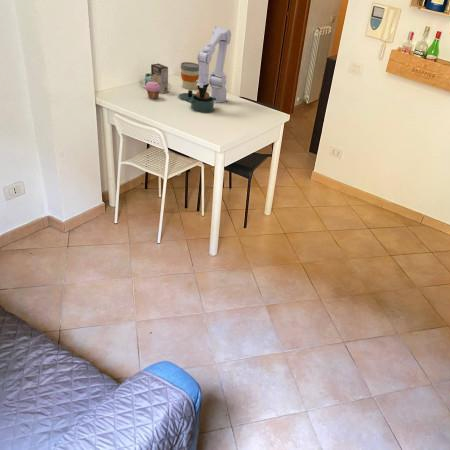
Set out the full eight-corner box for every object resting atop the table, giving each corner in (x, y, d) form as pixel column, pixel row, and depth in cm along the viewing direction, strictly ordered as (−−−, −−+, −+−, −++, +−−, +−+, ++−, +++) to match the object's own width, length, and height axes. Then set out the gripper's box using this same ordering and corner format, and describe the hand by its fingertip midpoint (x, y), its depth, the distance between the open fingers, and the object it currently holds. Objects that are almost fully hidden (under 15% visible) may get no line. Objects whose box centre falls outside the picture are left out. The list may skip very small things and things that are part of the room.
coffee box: (150, 89, 279) (150, 64, 270) (158, 88, 284) (158, 63, 275) (161, 93, 275) (160, 68, 267) (168, 92, 280) (168, 66, 272)
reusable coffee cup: (190, 91, 289) (190, 68, 281) (176, 85, 294) (176, 63, 286) (203, 88, 299) (203, 66, 291) (189, 83, 304) (190, 61, 296)
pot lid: (174, 95, 276) (174, 88, 274) (193, 93, 286) (193, 86, 283) (186, 102, 269) (187, 95, 266) (205, 100, 278) (206, 93, 276)
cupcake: (153, 101, 262) (152, 84, 256) (142, 97, 265) (142, 80, 259) (163, 98, 268) (163, 82, 263) (153, 94, 271) (153, 78, 266)
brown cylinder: (210, 99, 264) (210, 91, 261) (208, 101, 260) (209, 93, 258) (196, 97, 263) (196, 89, 261) (195, 99, 259) (195, 91, 257)
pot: (183, 106, 262) (183, 96, 259) (208, 103, 274) (208, 93, 271) (195, 114, 255) (196, 103, 252) (221, 110, 267) (221, 100, 264)
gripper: (199, 69, 259) (198, 92, 266) (194, 75, 247) (193, 99, 254) (210, 71, 260) (209, 93, 267) (206, 77, 248) (205, 100, 255)
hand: (202, 96), depth 261 cm, fingers closed on brown cylinder, 4 cm apart
